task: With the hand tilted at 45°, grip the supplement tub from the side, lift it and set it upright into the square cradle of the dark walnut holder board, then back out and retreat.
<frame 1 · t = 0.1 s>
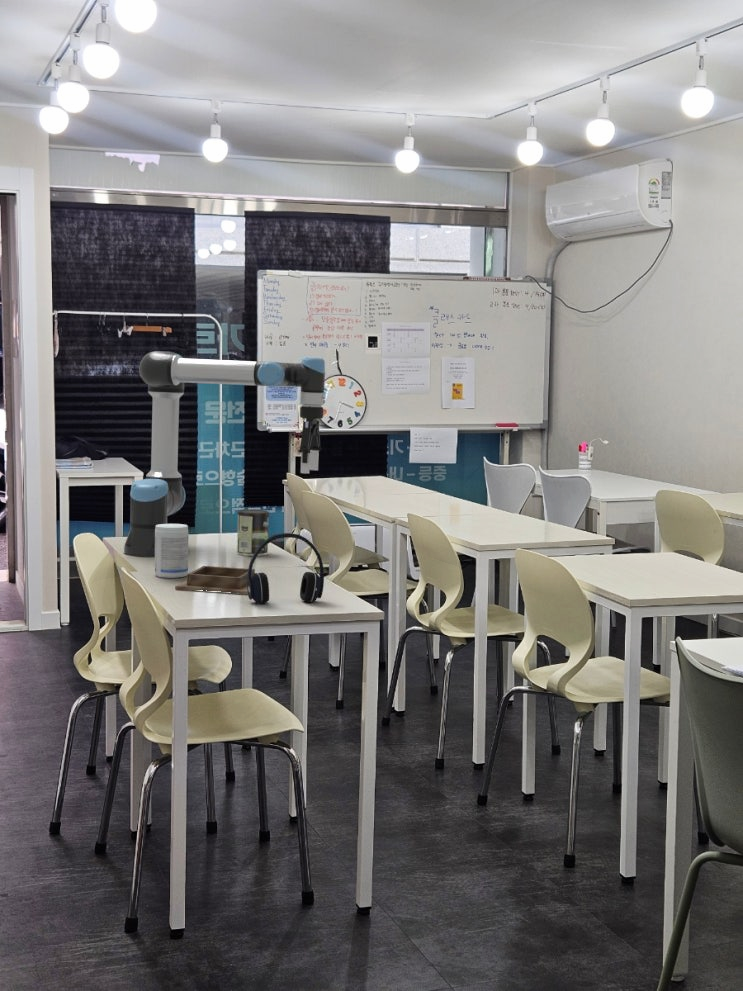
hand: (309, 471, 381), 28 cm above the table, tool pointing down, fingers open, 13 cm apart
headphones: (284, 603, 309), on the table
walnut holder: (221, 585, 328), on the table
coffee can: (252, 554, 387), on the table
supplement tub: (170, 576, 340), on the table
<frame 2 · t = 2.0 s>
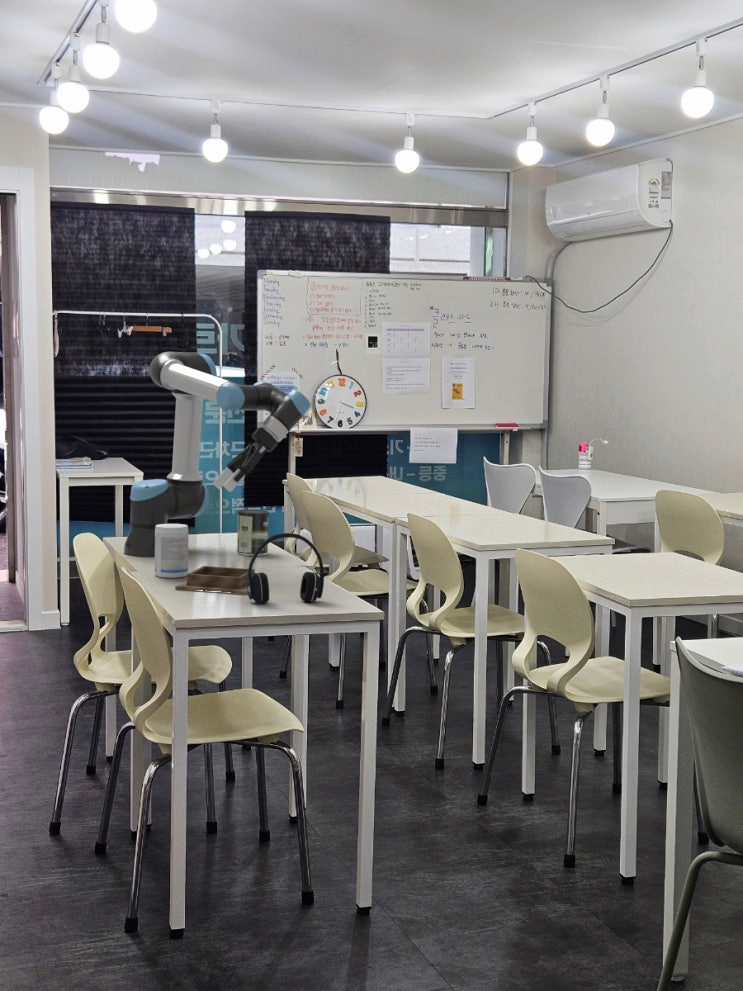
hand: (221, 487, 344), 25 cm above the table, tool tilted 40°, fingers open, 13 cm apart
nothing on the table moved.
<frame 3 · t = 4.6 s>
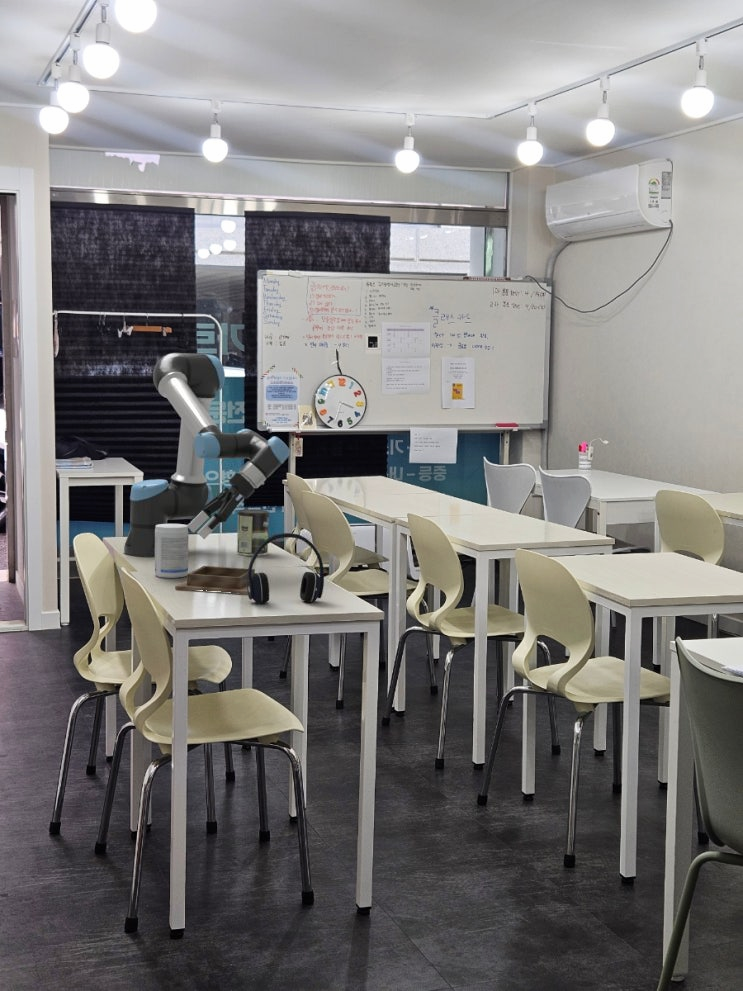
hand: (195, 532, 340), 13 cm above the table, tool tilted 45°, fingers open, 13 cm apart
nothing on the table moved.
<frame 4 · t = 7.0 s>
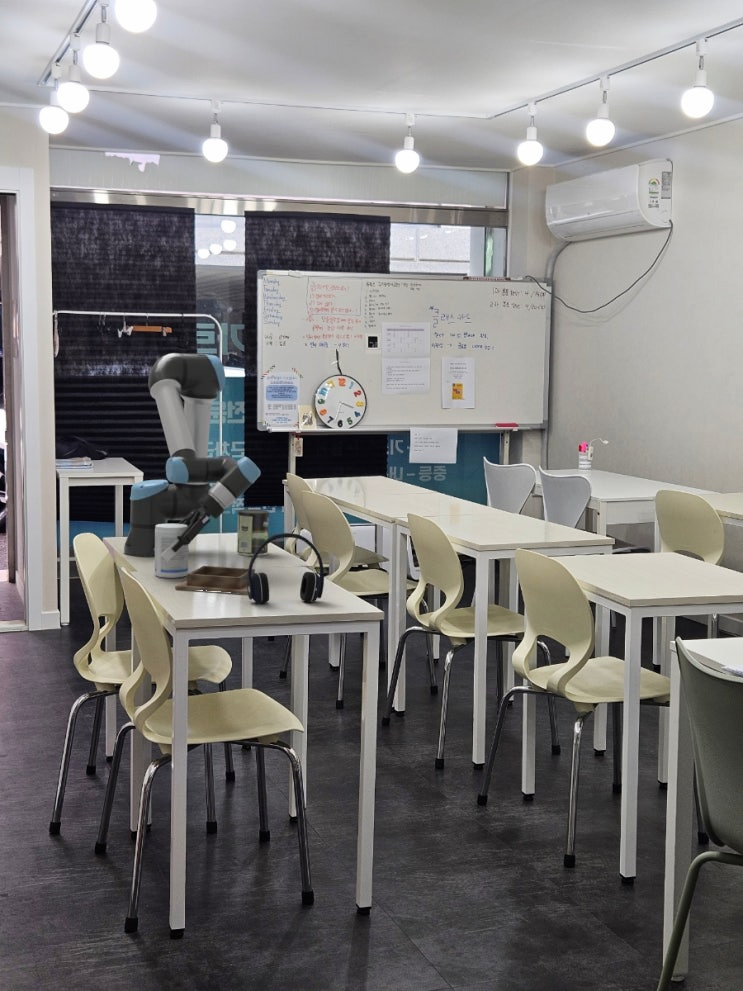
hand: (160, 555, 339), 6 cm above the table, tool tilted 45°, fingers closed on supplement tub, 9 cm apart
supplement tub: (170, 576, 340), on the table, touching gripper
everything else where it was.
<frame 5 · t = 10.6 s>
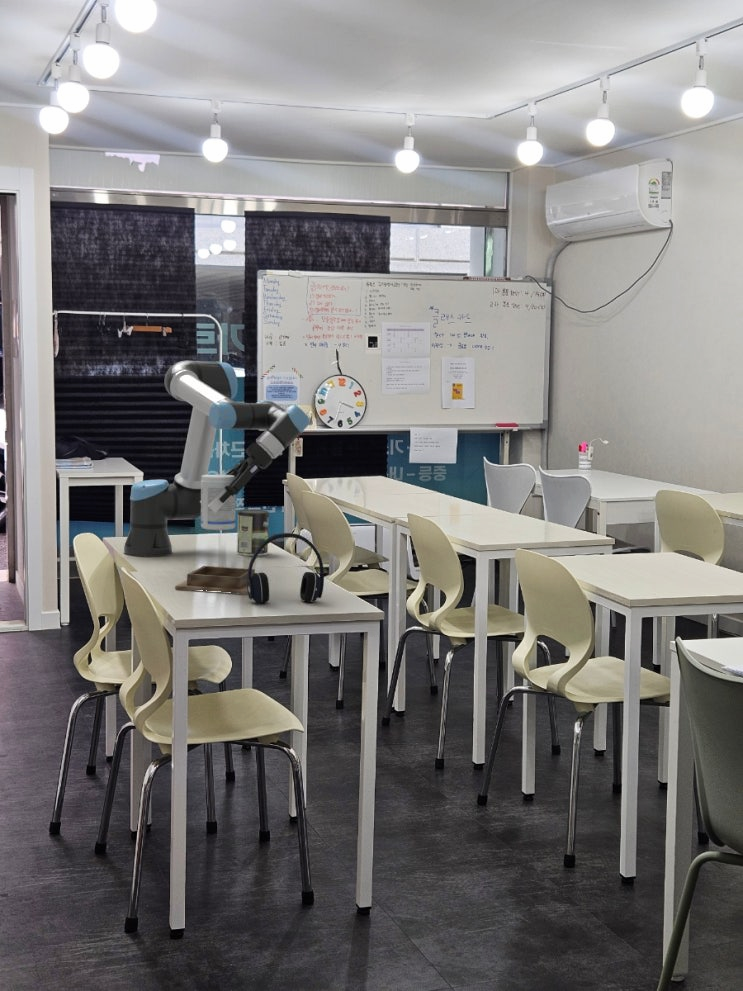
hand: (207, 507, 325), 22 cm above the table, tool tilted 45°, fingers closed on supplement tub, 9 cm apart
supplement tub: (217, 529, 327), point 16 cm above the table, touching gripper
everything else where it was.
when the fingers open (8 cm above the table, at t = 14.3 s): supplement tub drops 1 cm, resting on walnut holder.
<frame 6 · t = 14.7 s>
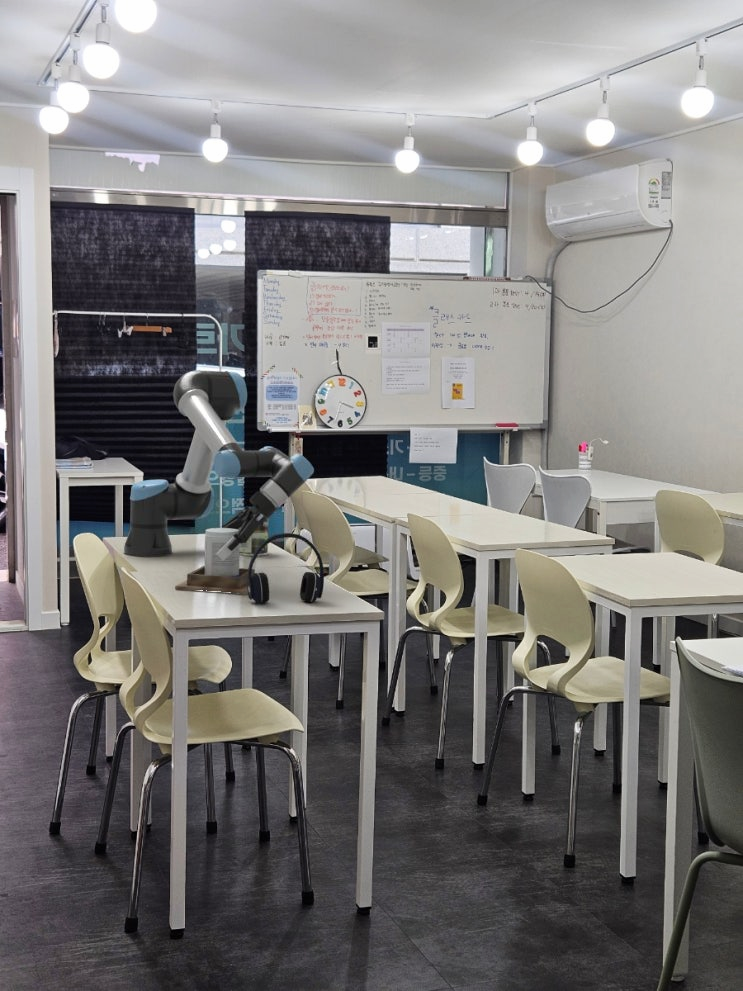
hand: (213, 553, 326), 9 cm above the table, tool tilted 45°, fingers open, 13 cm apart
supplement tub: (221, 582, 328), point 1 cm above the table, touching walnut holder
everything else where it was.
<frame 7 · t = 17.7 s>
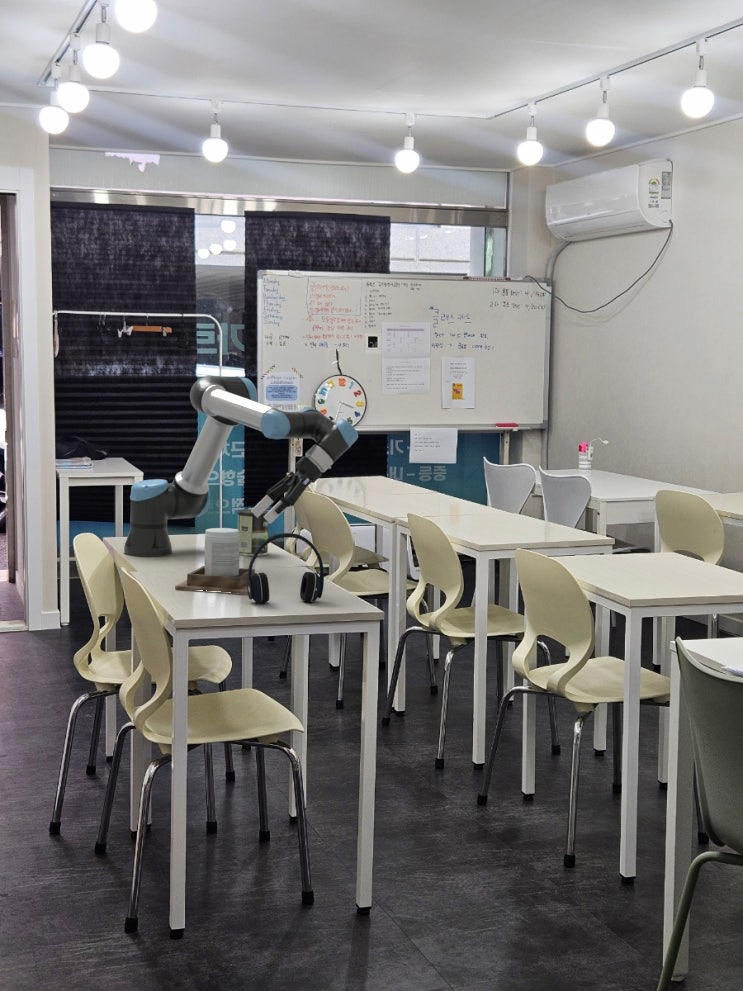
hand: (260, 517, 330), 19 cm above the table, tool tilted 45°, fingers open, 13 cm apart
nothing on the table moved.
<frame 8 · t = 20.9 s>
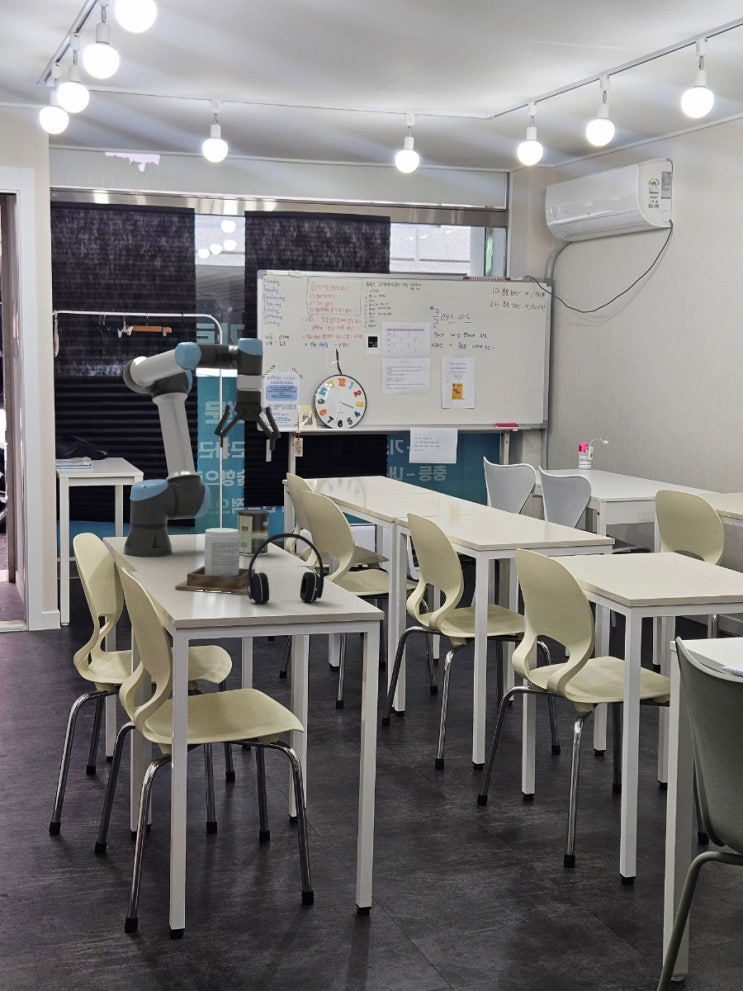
hand: (246, 460, 358), 33 cm above the table, tool pointing down, fingers open, 13 cm apart
nothing on the table moved.
at the end: supplement tub 0.3 cm off-centre on the walnut holder, point 0.8 cm above the walnut holder's base; supplement tub tilted 0°; the gripper is holding nothing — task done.
